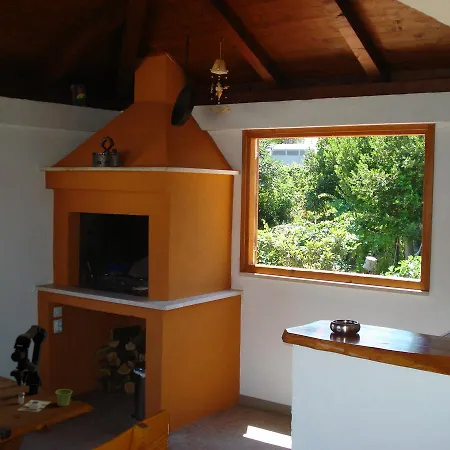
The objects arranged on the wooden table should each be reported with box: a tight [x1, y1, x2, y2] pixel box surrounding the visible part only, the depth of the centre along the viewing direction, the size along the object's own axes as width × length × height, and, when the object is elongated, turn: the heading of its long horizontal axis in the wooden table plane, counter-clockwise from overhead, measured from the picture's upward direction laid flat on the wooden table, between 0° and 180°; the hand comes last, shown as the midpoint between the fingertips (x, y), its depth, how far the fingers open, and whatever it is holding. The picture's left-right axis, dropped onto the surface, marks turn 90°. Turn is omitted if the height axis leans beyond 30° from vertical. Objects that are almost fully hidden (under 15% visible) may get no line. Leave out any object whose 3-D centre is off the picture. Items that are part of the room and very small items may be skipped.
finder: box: [29, 400, 42, 410], centre depth 342 cm, size 5×5×3 cm
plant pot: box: [55, 388, 73, 407], centre depth 352 cm, size 9×9×9 cm
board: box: [17, 399, 51, 413], centre depth 347 cm, size 18×12×2 cm, turn 173°
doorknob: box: [17, 391, 26, 405], centre depth 349 cm, size 4×4×8 cm
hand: (21, 384), depth 349 cm, fingers open, 5 cm apart
